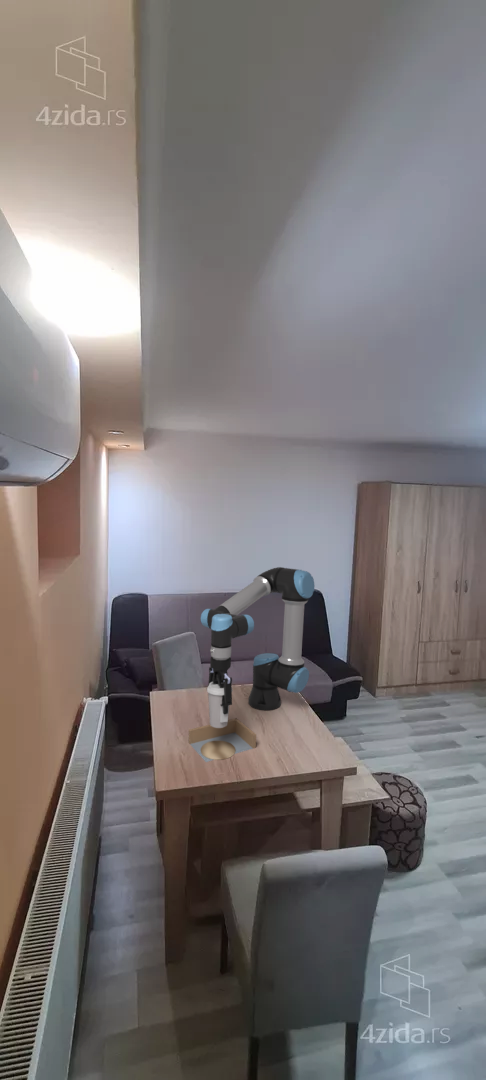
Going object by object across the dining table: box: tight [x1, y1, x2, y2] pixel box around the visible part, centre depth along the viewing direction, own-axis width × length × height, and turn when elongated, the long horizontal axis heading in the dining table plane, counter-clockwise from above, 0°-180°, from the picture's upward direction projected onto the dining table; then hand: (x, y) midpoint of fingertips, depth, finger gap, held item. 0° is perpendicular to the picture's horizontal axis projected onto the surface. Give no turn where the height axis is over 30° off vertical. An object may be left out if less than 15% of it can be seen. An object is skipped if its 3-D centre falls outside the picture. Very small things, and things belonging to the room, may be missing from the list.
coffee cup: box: [206, 682, 233, 728], centre depth 171 cm, size 10×10×15 cm
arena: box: [188, 717, 257, 763], centre depth 176 cm, size 21×15×6 cm
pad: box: [201, 741, 235, 761], centre depth 173 cm, size 13×13×1 cm
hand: (218, 717), depth 171 cm, fingers closed on coffee cup, 7 cm apart
